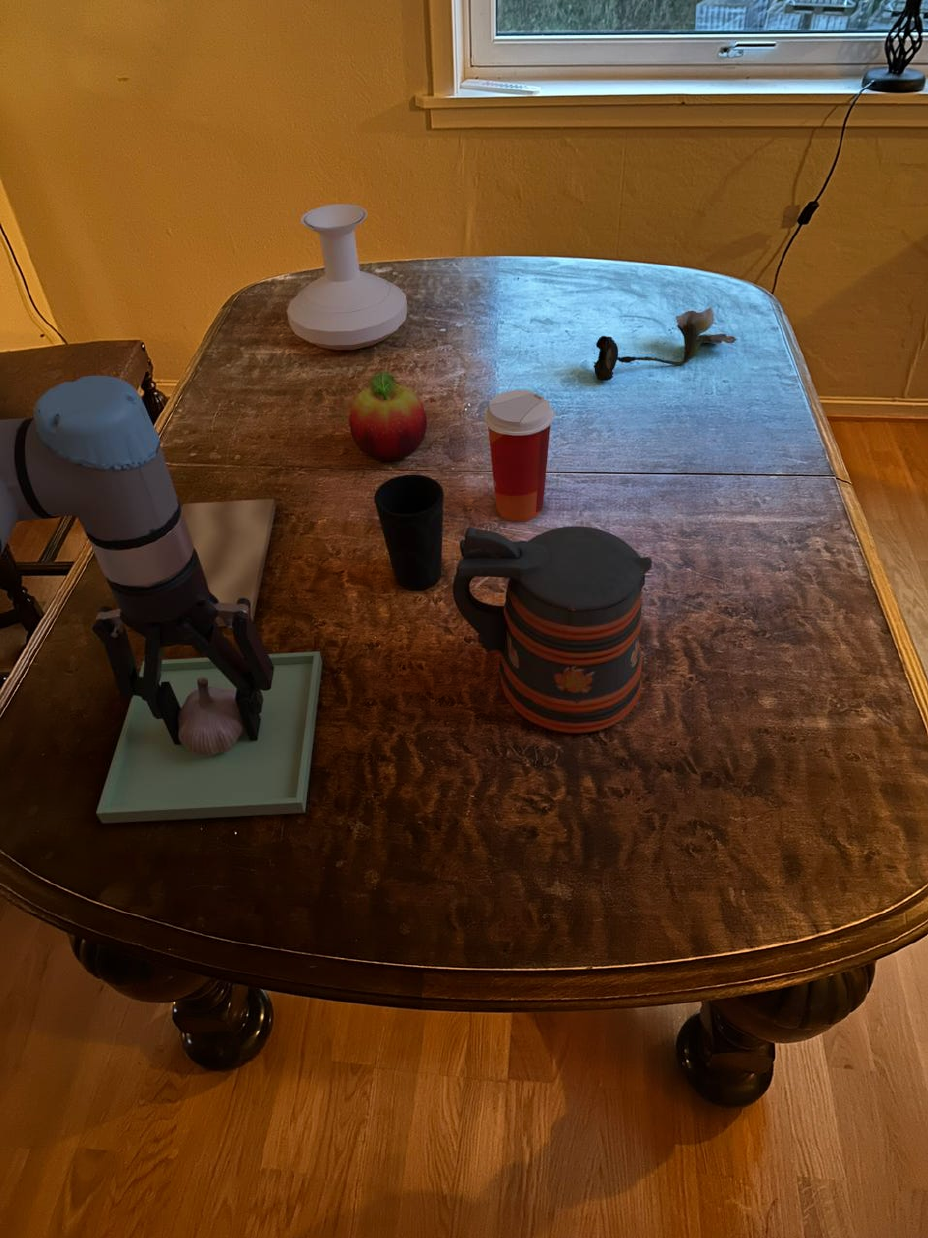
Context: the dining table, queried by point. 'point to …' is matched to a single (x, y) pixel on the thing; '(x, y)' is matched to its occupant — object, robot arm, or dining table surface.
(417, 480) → the cup
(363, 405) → the fruit
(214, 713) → the garlic bulb
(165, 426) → the dining table surface
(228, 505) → the cutting board
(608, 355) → the artificial flower
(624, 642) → the beer stein
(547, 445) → the coffee cup
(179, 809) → the green square tray
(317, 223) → the white vase
